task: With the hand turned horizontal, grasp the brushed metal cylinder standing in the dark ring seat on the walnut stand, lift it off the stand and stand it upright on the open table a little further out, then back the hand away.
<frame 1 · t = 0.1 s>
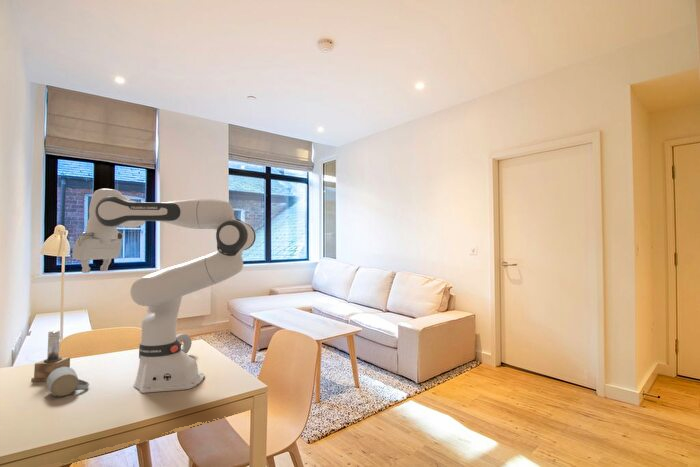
hand: (95, 271, 123), 39 cm above the table, tool pointing down, fingers open, 8 cm apart
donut: (180, 357, 151), on the table
brushed metal cylinder: (53, 359, 126), point 6 cm above the table, touching walnut stand
walnut stand: (52, 376, 126), on the table
ceramic mug: (67, 392, 114), on the table
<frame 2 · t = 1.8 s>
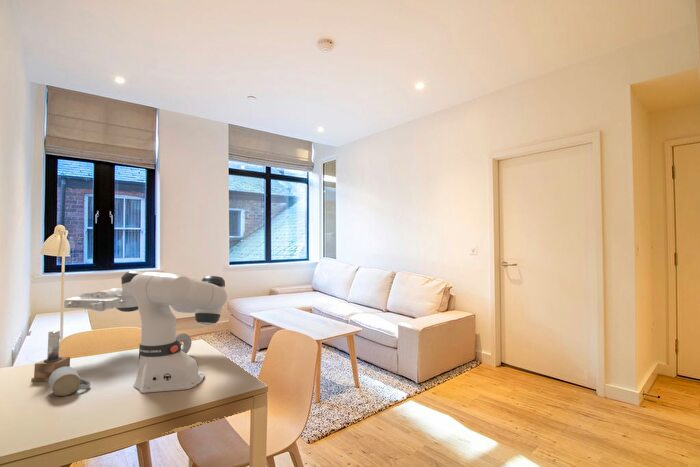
hand: (79, 306, 139), 24 cm above the table, tool horizontal, fingers open, 8 cm apart
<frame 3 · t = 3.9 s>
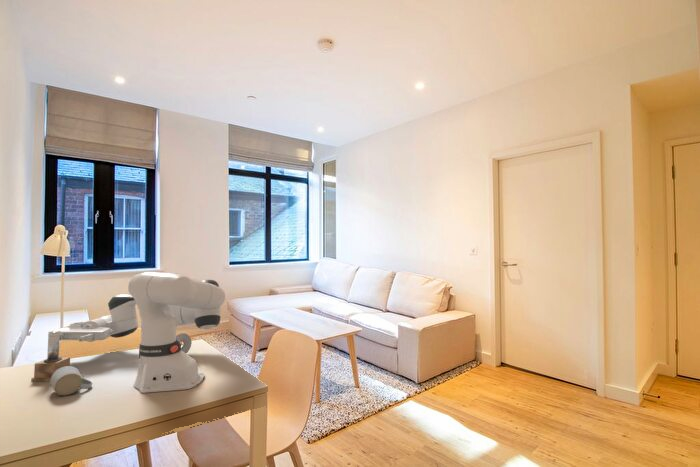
hand: (68, 339, 134), 12 cm above the table, tool horizontal, fingers open, 8 cm apart
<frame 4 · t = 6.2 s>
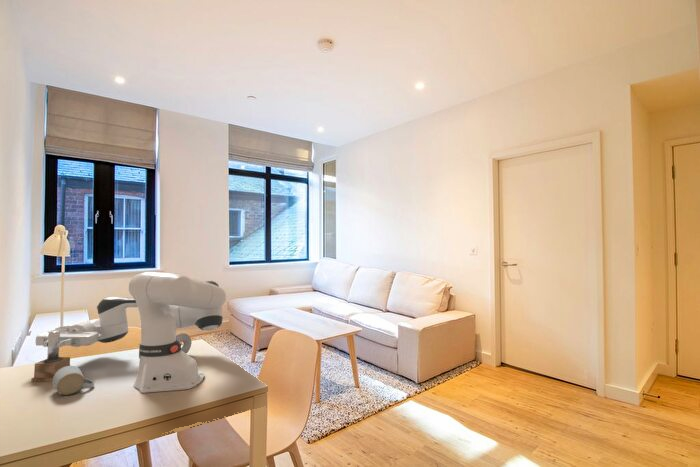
hand: (51, 344, 125), 12 cm above the table, tool horizontal, fingers closed on brushed metal cylinder, 3 cm apart
brushed metal cylinder: (53, 359, 126), point 6 cm above the table, touching gripper, walnut stand
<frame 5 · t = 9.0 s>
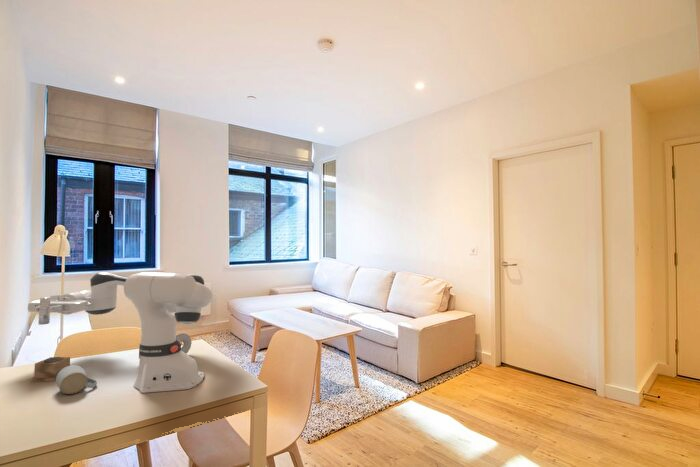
hand: (42, 309, 133), 23 cm above the table, tool horizontal, fingers closed on brushed metal cylinder, 3 cm apart
brushed metal cylinder: (44, 323, 134), point 17 cm above the table, touching gripper
when the fingers open (7 cm above the table, at t = 12.1 s): brushed metal cylinder drops 1 cm, on the table.
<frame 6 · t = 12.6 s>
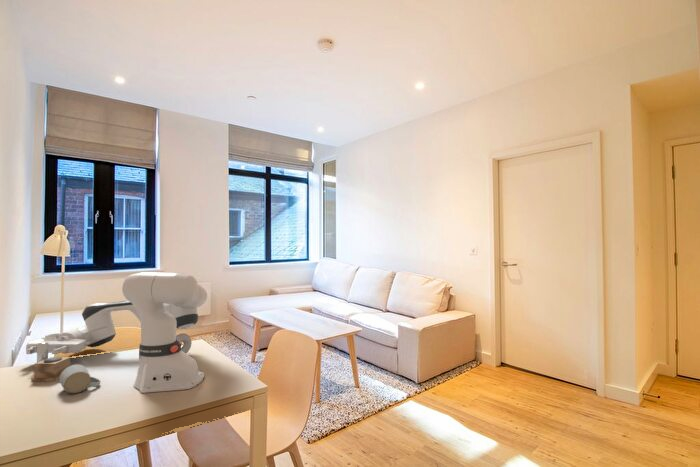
hand: (40, 352, 133), 7 cm above the table, tool horizontal, fingers open, 8 cm apart
brushed metal cylinder: (42, 369, 133), on the table
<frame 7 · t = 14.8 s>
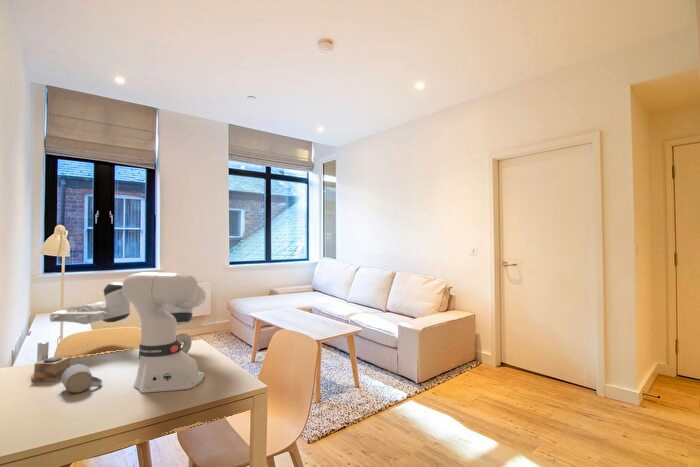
hand: (64, 319, 144), 17 cm above the table, tool horizontal, fingers open, 8 cm apart
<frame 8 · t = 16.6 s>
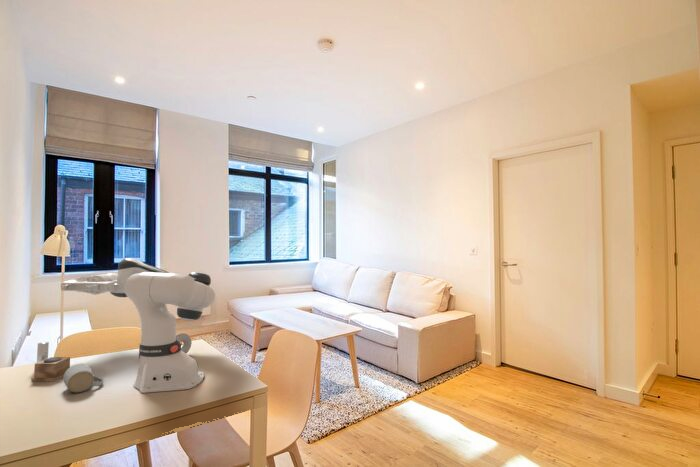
hand: (75, 288, 145), 30 cm above the table, tool horizontal, fingers open, 8 cm apart
at the end: brushed metal cylinder inside the target area (0.1 cm from its centre), on the table; brushed metal cylinder tilted 0°; the gripper is holding nothing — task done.
